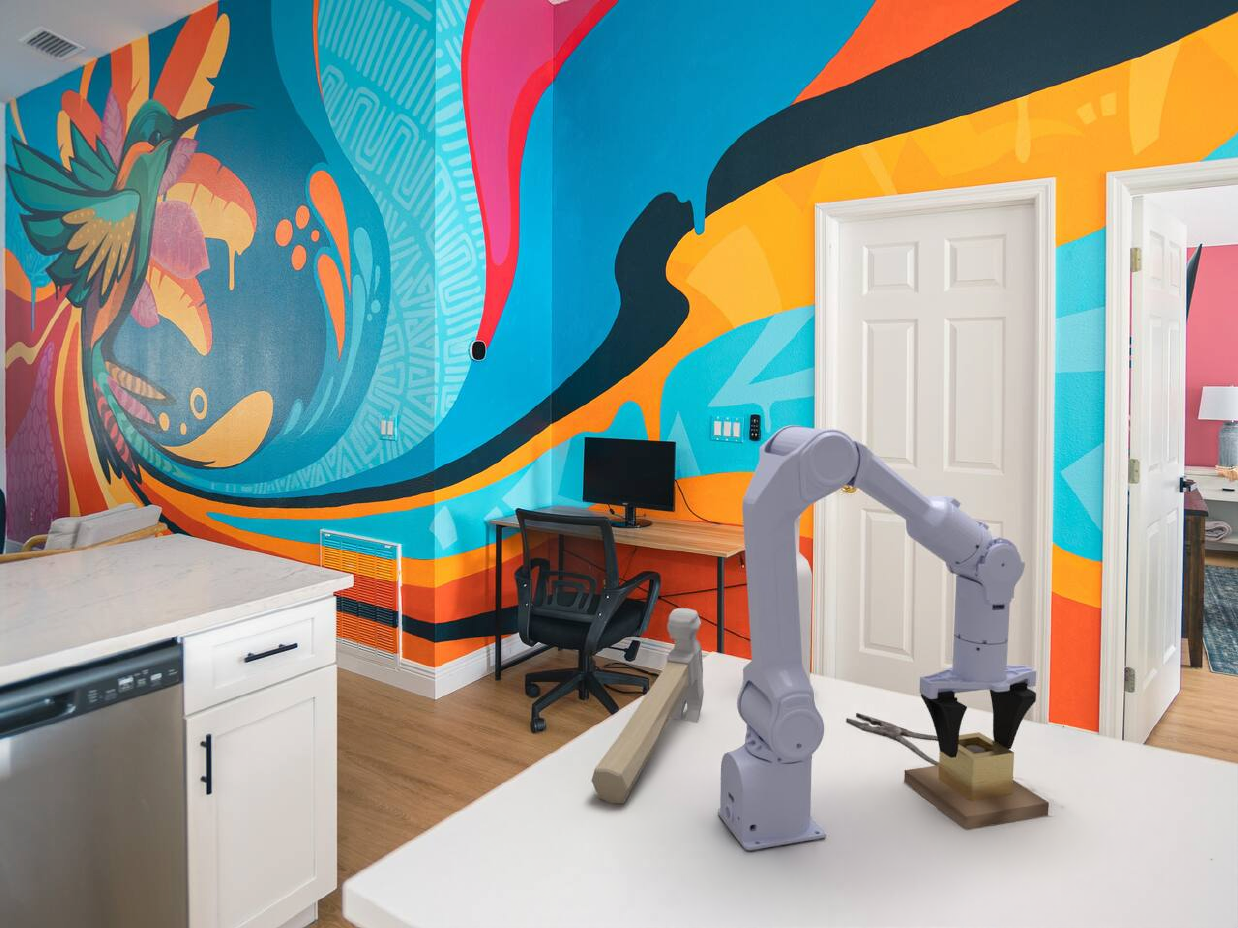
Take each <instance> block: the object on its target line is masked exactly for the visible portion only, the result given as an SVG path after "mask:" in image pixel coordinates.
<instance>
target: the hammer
mask: <svg viewBox="0 0 1238 928" xmlns="http://www.w3.org/2000/svg"><path fill="white" fill-rule="evenodd" d="M667 621H668V622H667V624H666V627H667V632H668V633H669V639H673V640H674V641H673V642H674V647H673V649H672V650H671V651H670V652H669V653H668V655H666V664H665V666H664V667H663V669H662V670H661V673H660V674H659V675H658V677H657V678H656V679H655V681H654V682H653V684H652V686H651V687H650V689H648V691H647V693H646V695H644V697H643V698H642V700H641V702H640V703H639V705H637V708H636V709H635V711H634V712H633V714H632V716H631V717H630V718H629V720H628V722H627V723H626V724H625V726H624V728H623V729H622V731H621V732H620V734H619V735H618V737H617V738H616V739H615V740H614V742H613V743H612V745H611V746H610V748H609V749H608V750H607V751H606V753H605V754H604V756H603V757H602V758H601V759H600V761H599V763H598V764H597V765H596V766H595V768H594V769H593V774H592V777H591V780H590V781H591V783H592V784H593V785H592V786H593V788H594V790H595V792H596V794H597V796H598V798H599V799H601V800H604V801H606V802H607V803H609V804H624V803H625V801H626V800H627V798H628V796H629V795H630V793H631V791H632V789H633V787H634V786H635V783H636V782H637V780H638V778H639V776H640V774H641V772H642V771H643V769H644V766H646V763H647V762H648V760H649V759H650V757H651V755H652V753H653V752H654V750H655V748H656V746H657V744H658V742H659V740H660V738H661V736H662V733H664V730H665V728H666V727H667V724H668V722H669V720H670V719H671V718H672V719H673V720H678V721H681V720H682V716H683V713H684V711H685V707H686V714H685V722H688V723H694V724H698V722H699V718H700V716H701V711H702V707H703V700H704V693H705V691H704V690H705V689H704V666H703V651H702V645H701V643H700V641H699V640H698V639H697V632H698V631H699V630H700V627H701V625H702V621H701V619H700V616H699V614H698V611H697V610H696V609H692V608H689V607H688V608H687V607H685V608H684V607H682V608H681V607H678V608H674V609H673V610H672V611H671V612H670V613H669V614H668V620H667Z"/></svg>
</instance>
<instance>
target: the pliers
mask: <svg viewBox="0 0 1238 928" xmlns="http://www.w3.org/2000/svg"><path fill="white" fill-rule="evenodd" d="M855 717H856V718H858V719H860V720H862V721H865V722H862V721H861V722H860V721H858V720H856V719H853V718H852V719H851V718H848V717H846V720H845V722H846V723H847V724H849V725H851V726H853V727H855V728H857V729H859V730H861V731H864V732H867V733H871V734H875V735H878V736H882V737H886V738H888V739H890V740H893V741H895V742H898V743H900V744H901V745H903V746H905V748H906V747H907V748H908V749H909V750H910V751H912V752H913V753H914V754H915V755H917V756H919V757H920V758H922V759H923V760H924V761H926V762H928V763H930V764H932V765H933V766H936V765H939V761H937V760H935V759H934V758H932V757H930V756H929V755H927V754H926V753H924V752H923V751H922V750H921V749H920V748H919V747H917V746H916V745H915V744H913V743H912V742H911V741H909V740H908V739H906V738H911V737H912V738H913V739H918V740H924V741H925V740H926V741H934V740H935V742H938V738H937V735H933V734H925V733H920V732H915V731H911V730H909V729H907V728H904V727H901V726H897V725H895V724H894V723H891V722H888V721H884V720H881V719H878V718H874V717H872V716H868V715H865V714H862V713H858V712H856V713H855ZM869 723H870V724H871V725H870V724H869ZM872 725H873V726H872ZM905 737H906V738H905Z"/></svg>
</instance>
